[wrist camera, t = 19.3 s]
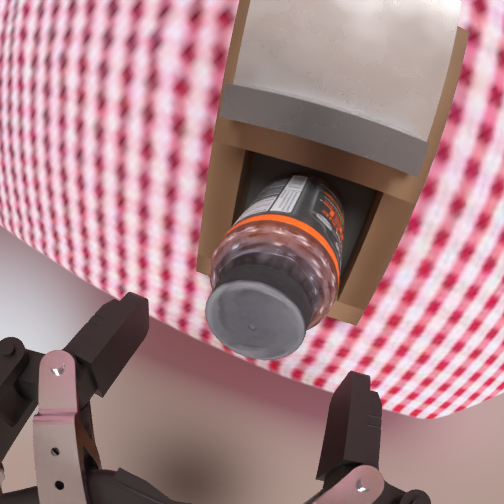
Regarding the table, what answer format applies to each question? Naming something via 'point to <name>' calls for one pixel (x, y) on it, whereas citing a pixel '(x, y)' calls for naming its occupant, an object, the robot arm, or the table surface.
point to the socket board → (330, 170)
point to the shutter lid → (346, 73)
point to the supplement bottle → (277, 268)
